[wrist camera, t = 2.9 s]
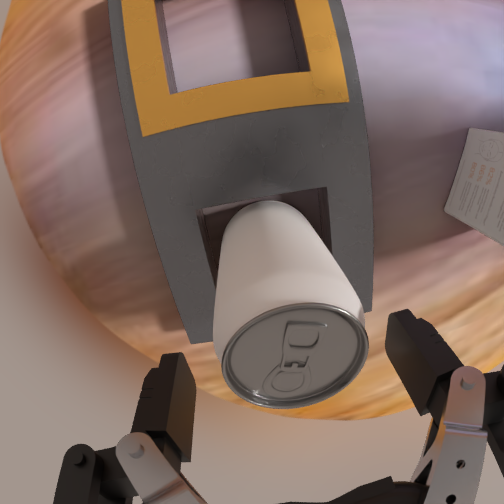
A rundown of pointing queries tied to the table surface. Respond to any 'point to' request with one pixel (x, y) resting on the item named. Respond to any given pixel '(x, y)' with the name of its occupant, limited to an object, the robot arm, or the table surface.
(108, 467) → the robot arm
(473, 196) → the small box
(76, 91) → the table surface
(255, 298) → the can
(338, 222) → the grey slotted tray
